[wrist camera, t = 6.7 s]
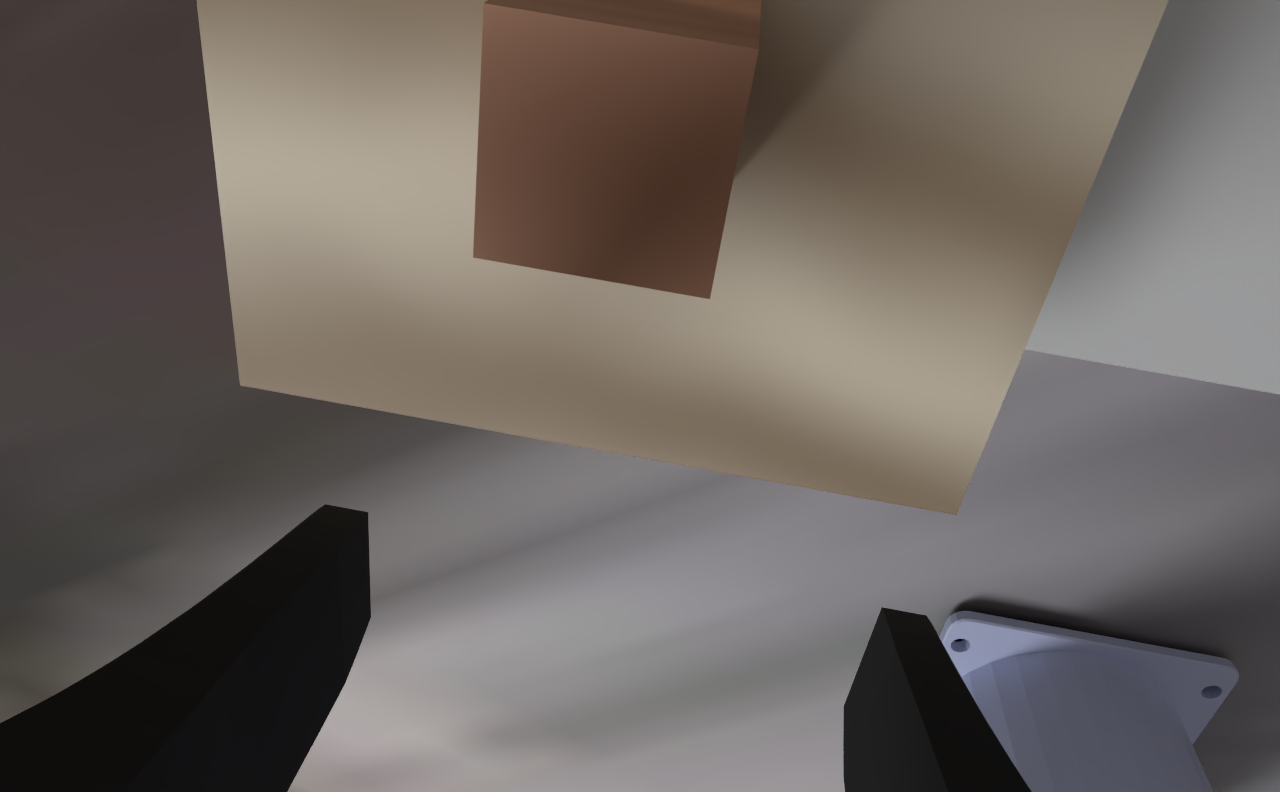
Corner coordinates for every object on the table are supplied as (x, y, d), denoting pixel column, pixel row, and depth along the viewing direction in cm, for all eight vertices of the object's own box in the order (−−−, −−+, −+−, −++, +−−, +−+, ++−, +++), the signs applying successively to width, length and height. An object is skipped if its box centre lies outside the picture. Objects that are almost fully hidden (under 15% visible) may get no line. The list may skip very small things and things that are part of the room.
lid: (949, 489, 18) (1000, 679, 14) (259, 364, 19) (119, 515, 15) (1322, -445, 11) (1647, -598, 7) (161, -620, 11) (-179, -863, 7)
